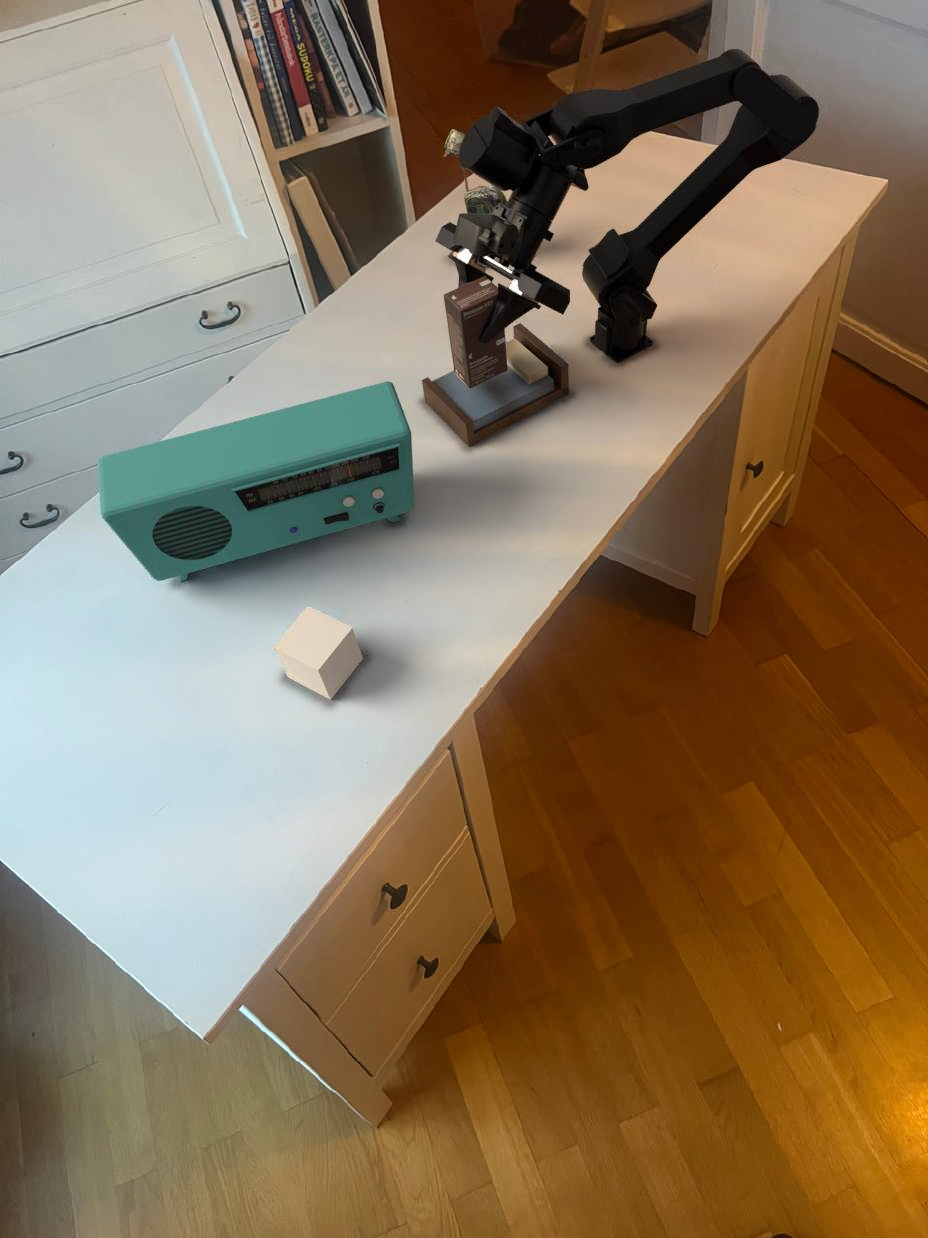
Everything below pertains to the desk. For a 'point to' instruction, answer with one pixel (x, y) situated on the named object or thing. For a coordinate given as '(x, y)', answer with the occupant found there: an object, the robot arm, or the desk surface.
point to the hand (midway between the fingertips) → (469, 333)
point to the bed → (467, 424)
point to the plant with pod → (481, 196)
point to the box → (474, 332)
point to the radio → (260, 482)
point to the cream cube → (318, 652)
